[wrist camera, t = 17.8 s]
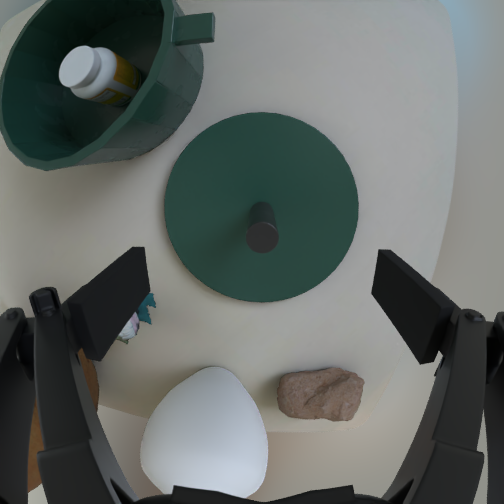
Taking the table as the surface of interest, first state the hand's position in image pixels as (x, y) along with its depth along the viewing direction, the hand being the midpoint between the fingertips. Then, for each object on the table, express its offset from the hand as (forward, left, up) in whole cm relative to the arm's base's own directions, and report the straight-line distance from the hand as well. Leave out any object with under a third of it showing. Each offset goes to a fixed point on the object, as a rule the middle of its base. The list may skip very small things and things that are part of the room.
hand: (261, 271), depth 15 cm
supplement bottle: (-15, -16, -16) cm, 27 cm away
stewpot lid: (0, 0, -15) cm, 15 cm away
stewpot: (-16, -16, -16) cm, 28 cm away
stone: (+26, +9, -16) cm, 32 cm away
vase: (+24, -6, -16) cm, 29 cm away
